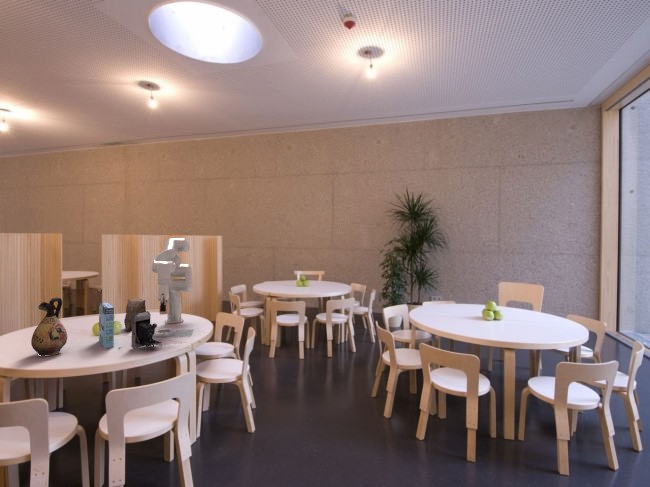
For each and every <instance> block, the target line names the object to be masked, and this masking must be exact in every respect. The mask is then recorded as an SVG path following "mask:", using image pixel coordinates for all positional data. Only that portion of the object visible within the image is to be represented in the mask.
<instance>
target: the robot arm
mask: <svg viewBox="0 0 650 487" xmlns="http://www.w3.org/2000/svg"><path fill="white" fill-rule="evenodd" d="M163 244H164V245H163V246H164V247H163V248H162V249H163V250H162V251H161V252H159V253H157V254H156V255H155V256H154V257H153V259H152V262H151V272H152V273H154V274H156V275H157V277H156V280H157V281H156V283H157V284H156V285H157V286H158V290H157V291H158V292H157V300H158V302H159V313H160V312H165V311H166V305H165V302H169V313H168V314H166V316H167V319H166V320H164V322H165V324H179V323H180V324H181V323H182V322H184V320H185V319H184V318H182V296H181V295H180V293H183V292H184V293H185V292H190V291H191V290H192V279H193V278H192V273H193V272H192V266H191V265H190V264H187V263H182V257H181V255H180V254H179V253H188V252H189V251H190V247H191V246H190V242H189V240H188V239H187V238H184V237H183V238H181V237H179V238H178V237H177V238H176V237H173V238H172V237H170V238H168V239H166V240H165V241H164V243H163Z"/></svg>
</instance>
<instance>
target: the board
mask: <svg viewBox="0 0 650 487" xmlns="http://www.w3.org/2000/svg"><path fill="white" fill-rule="evenodd" d="M175 330H176V333H175V335H172V336H168V337H154V336H152V339H154V340H157V339H171V338H174V339H175V338H189V337H190V338H191V337H192V335H193V332H194V331H195V329H194V328H192V329H175Z"/></svg>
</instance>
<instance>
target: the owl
mask: <svg viewBox="0 0 650 487" xmlns="http://www.w3.org/2000/svg"><path fill="white" fill-rule="evenodd" d="M125 309H126V310H125V316H124V327H125V331H126V332H127V333H130V332H132V315H134V313H135V314H139V313H144V312H147V309H146V299H141V298H139V299H132V298H128V299H127V303H126V307H125Z"/></svg>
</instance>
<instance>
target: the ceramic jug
mask: <svg viewBox="0 0 650 487" xmlns="http://www.w3.org/2000/svg"><path fill="white" fill-rule="evenodd" d="M56 302H57V305H56V306H55V303H56ZM62 305H63V300H62V298H60V297H58V296H57V297H53V298H51V299H50V300H49V302H45V301H43V302H41V303H40V304H39V305H38V306H37V307H38V310H40V311H44V312H46V315H45V316H44V317H43V319H42V320H41V321H40V322H39V324H38V325H37V326H36V327H35V329H34V331H33V333H32V336H31V341H30V343H31V346H32V349H33V350H34V351H35V352H36V353H37V355H38V354H39V355H41V357H46V356H45V355H52V356H55V355H57V353H58V354H59V353H60V352H61V350H62V348H64V346H65V345H66V343H67V341H68V333H67V329H66V327H65V326H64V324H63V323H62V322H61V320H60V318H59V316H60V312H61V309H62ZM54 354H55V355H54Z"/></svg>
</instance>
